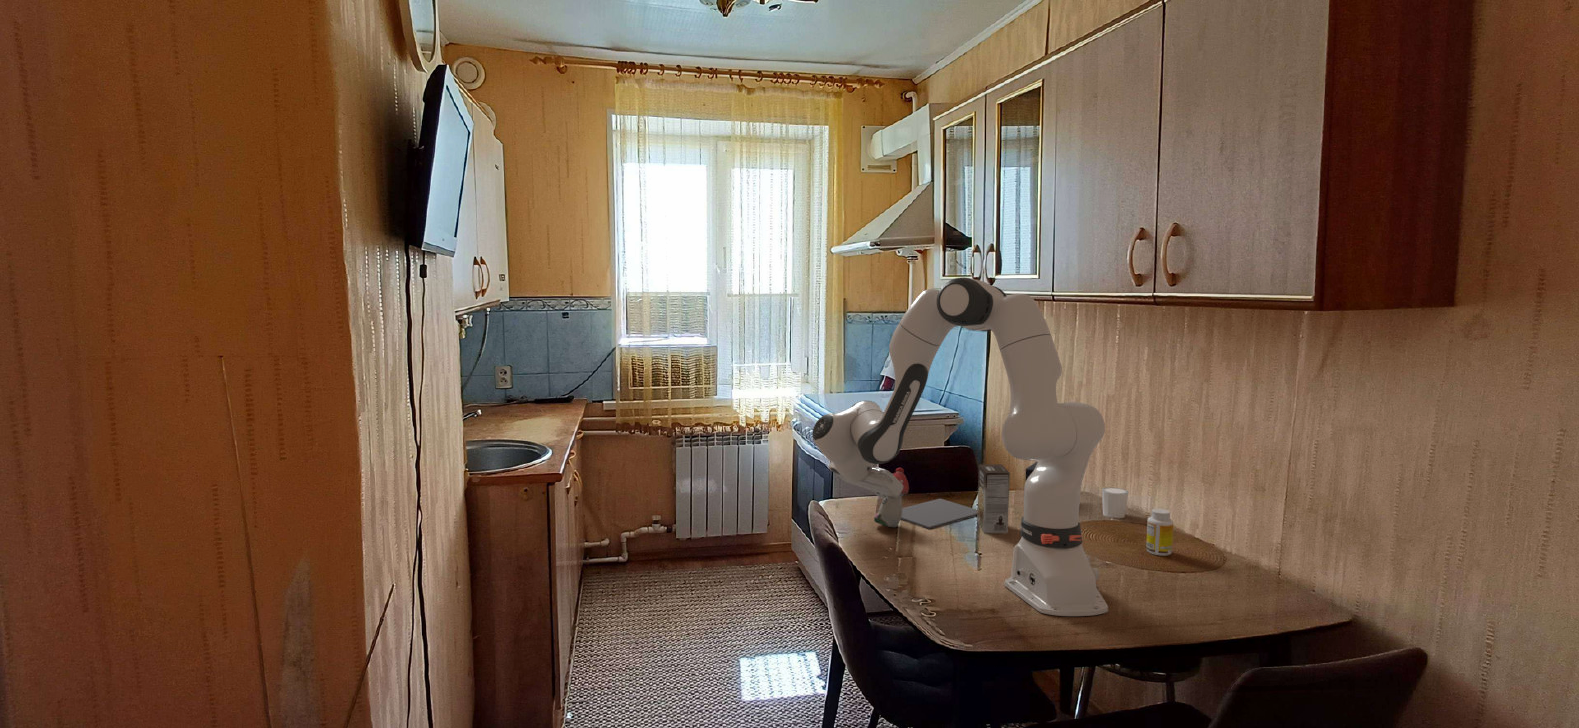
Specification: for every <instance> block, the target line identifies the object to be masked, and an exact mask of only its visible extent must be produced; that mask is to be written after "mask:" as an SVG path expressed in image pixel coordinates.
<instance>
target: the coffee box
mask: <svg viewBox="0 0 1579 728" xmlns="http://www.w3.org/2000/svg"><path fill="white" fill-rule="evenodd" d="M1010 477H1011V473H1010V472H1009V471H1008V469H1007V468H1006V467H1005V466H1004V465H1003V464H999V463H998V464H978V478H977V480H978V481H977V483H978V484H977V510H978V511H977V516H976V517H977V520H976V521H977V524H978V526H979V527H980V529H981V528H982V529H981V530H982V532H983V533H984V534H1008V533H1009V532H1008V531H1009V505H1010V504H1009V502H1010V482H1011V481H1010Z"/></svg>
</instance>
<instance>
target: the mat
mask: <svg viewBox="0 0 1579 728" xmlns="http://www.w3.org/2000/svg"><path fill="white" fill-rule="evenodd" d="M977 511H978V508H977V509H976V508H973V507H969V506H966V505H962V504H960V503H957V502H953V501H950V500H946V499H943V498H937V499H934V500H933V499H932V500H929V501H925V502H921V503H917V504H914V505H908V506H906V507H902V516H901V520H900V521H904V522H908V523H909V524H912V525H916V526H919V527H921V528H925V529H927V530H931V529H930V528H932V529H935V528H938V526H939V527H942V526H945V525H944V524H946V525H949V524H952V522H953V523H956V522H959V521H958V520H960V521H962V520H961V519H963V520H966V518H967V519H969V517H970V518H973V517H972V516H974V517H977V516H976V515H977ZM941 525H942V526H941Z"/></svg>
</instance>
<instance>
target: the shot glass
mask: <svg viewBox="0 0 1579 728" xmlns="http://www.w3.org/2000/svg"><path fill="white" fill-rule="evenodd" d="M1101 499H1102V500H1101V501H1102V515H1103V516H1105V517H1107V518H1112V519H1123V518H1125V517H1126V513H1127V506H1128V505H1127V504H1128V499H1129V491H1128V490H1127V489H1124V488H1123V489H1122V488H1119V487H1103V488H1101Z"/></svg>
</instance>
